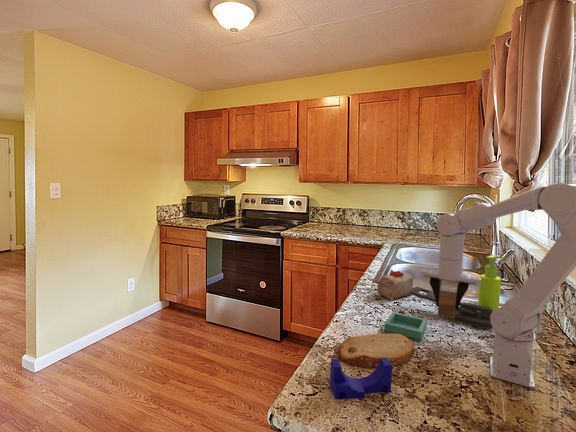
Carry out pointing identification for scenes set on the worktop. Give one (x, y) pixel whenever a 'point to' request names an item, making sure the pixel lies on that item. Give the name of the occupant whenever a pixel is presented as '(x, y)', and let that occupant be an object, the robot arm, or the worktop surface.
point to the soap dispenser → (490, 285)
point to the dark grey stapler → (462, 311)
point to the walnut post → (447, 302)
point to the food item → (395, 285)
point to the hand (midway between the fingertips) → (447, 307)
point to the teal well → (406, 326)
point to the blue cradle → (360, 381)
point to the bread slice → (375, 350)
